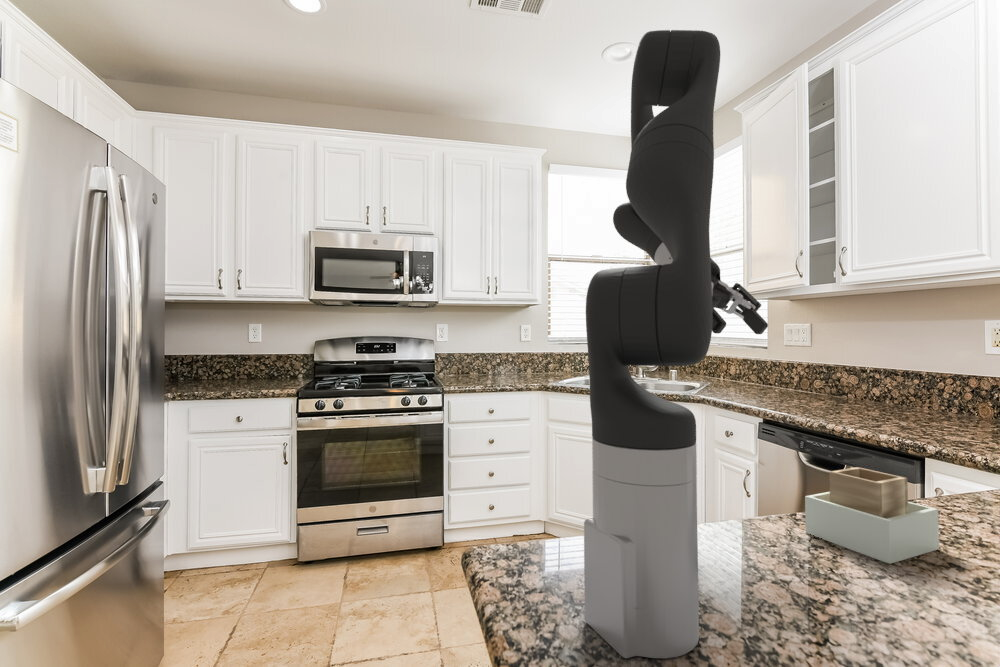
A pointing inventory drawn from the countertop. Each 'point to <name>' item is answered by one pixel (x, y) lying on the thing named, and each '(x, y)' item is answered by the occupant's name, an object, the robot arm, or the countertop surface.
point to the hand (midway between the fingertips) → (742, 329)
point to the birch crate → (869, 491)
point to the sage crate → (873, 529)
